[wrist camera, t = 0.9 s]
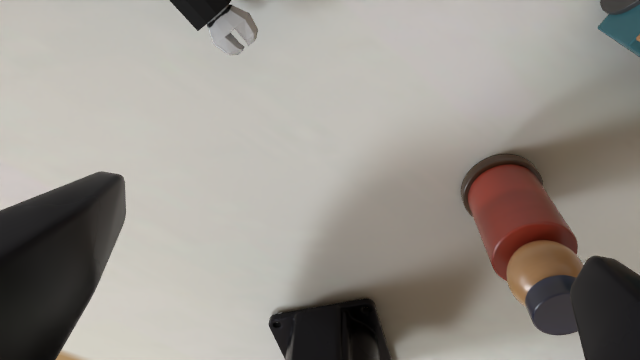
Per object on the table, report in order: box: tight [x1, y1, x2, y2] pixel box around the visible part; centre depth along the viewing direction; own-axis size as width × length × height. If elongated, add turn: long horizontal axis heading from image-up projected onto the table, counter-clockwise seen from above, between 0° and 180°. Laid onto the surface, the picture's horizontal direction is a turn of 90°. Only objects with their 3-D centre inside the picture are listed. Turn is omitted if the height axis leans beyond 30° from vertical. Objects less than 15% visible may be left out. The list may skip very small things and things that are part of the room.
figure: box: [461, 154, 583, 335], centre depth 21 cm, size 4×4×8 cm
